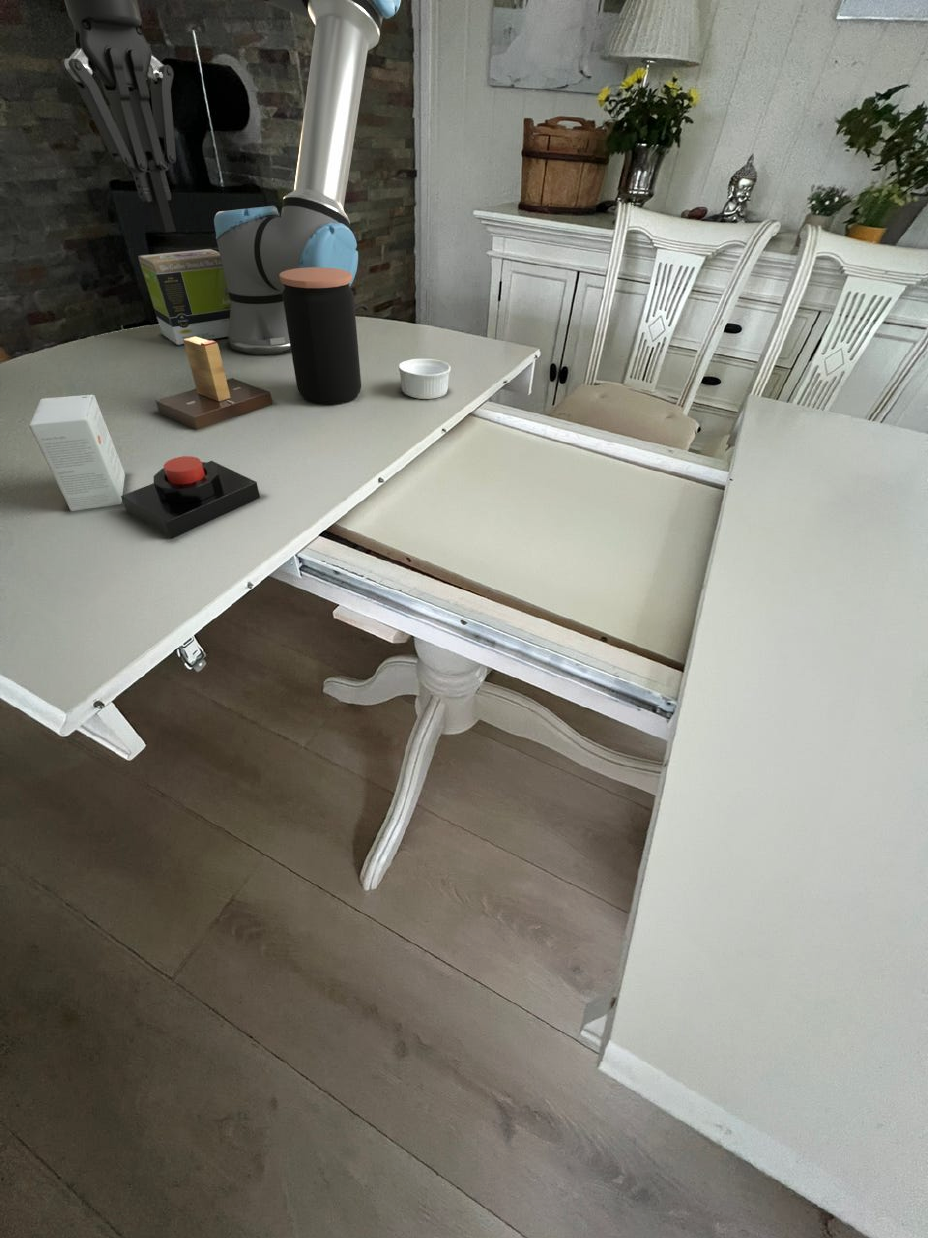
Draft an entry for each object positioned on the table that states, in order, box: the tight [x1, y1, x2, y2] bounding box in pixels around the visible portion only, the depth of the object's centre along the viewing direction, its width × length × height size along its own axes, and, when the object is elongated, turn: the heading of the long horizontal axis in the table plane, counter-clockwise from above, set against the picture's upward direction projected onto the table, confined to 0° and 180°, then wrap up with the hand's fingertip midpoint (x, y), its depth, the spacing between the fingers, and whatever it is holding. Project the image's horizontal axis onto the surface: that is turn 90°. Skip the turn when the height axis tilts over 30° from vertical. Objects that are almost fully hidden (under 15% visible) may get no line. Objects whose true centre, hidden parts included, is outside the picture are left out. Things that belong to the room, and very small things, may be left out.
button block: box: [121, 460, 261, 540], centre depth 67 cm, size 12×9×4 cm
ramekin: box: [398, 358, 452, 400], centre depth 98 cm, size 9×9×4 cm
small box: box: [28, 394, 126, 512], centre depth 66 cm, size 8×6×10 cm
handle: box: [183, 336, 231, 402], centre depth 87 cm, size 6×2×8 cm, turn 53°
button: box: [163, 455, 205, 485], centre depth 65 cm, size 4×4×2 cm
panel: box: [155, 377, 274, 431], centre depth 90 cm, size 14×10×2 cm
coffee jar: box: [279, 267, 362, 406], centre depth 91 cm, size 11×11×18 cm
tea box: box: [137, 248, 231, 346], centre depth 116 cm, size 15×10×15 cm, turn 129°
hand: (165, 230), depth 78 cm, fingers closed
